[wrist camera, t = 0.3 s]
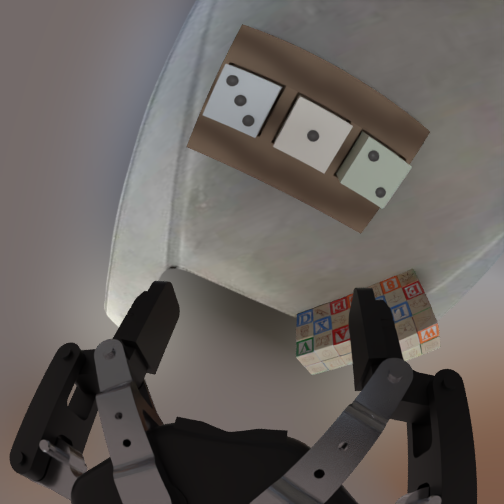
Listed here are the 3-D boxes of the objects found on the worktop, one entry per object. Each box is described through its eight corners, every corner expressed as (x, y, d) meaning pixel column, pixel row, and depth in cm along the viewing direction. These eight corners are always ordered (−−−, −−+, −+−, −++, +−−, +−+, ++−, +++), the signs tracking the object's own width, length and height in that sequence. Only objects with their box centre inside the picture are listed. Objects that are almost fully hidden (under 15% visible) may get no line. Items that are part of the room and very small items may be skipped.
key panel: (246, 29, 25) (242, 24, 23) (420, 127, 28) (430, 131, 26) (194, 141, 34) (186, 146, 31) (356, 222, 37) (360, 233, 35)
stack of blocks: (311, 333, 51) (310, 391, 41) (296, 313, 48) (293, 373, 38) (420, 292, 42) (441, 348, 32) (413, 267, 40) (439, 324, 30)
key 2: (362, 131, 28) (369, 136, 25) (402, 158, 29) (412, 167, 26) (336, 173, 31) (340, 183, 29) (376, 198, 32) (383, 209, 29)
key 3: (232, 65, 26) (225, 63, 23) (282, 86, 27) (281, 87, 24) (210, 111, 29) (201, 115, 26) (258, 132, 30) (254, 138, 27)
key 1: (299, 95, 27) (300, 96, 24) (347, 121, 28) (353, 126, 25) (274, 140, 30) (272, 147, 27) (321, 165, 31) (324, 174, 28)
